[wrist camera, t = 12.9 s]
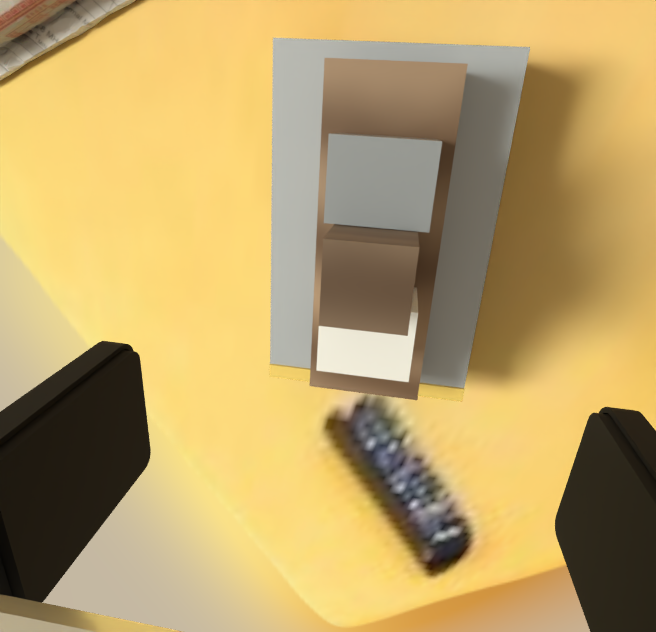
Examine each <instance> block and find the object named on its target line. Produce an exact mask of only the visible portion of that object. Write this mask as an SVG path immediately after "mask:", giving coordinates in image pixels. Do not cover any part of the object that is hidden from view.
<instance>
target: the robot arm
mask: <svg viewBox="0 0 656 632" xmlns="http://www.w3.org/2000/svg"><path fill="white" fill-rule="evenodd" d="M149 459H150V442H149V433H148V424H147V416H146V407H145V398H144V390H143V381H142V372H141V364H140V357H139V355H138V353H137V352H134V351H133V349H132V347H131V346H130V345H129V344H123V343H115V342H107V341H101V342H99V343H98V344H96V345H95V346H93V347H92V348H90V349H89V350H88V351H86V352H85V353H83V354H82V355H81V356H79V357H78V358H76V359H75V360H73V361H72V362H70V363H69V364H68V365H66V366H65V367H63V368H62V369H61V370H59V371H58V372H56V373H55V374H53V375H52V376H51V377H49V378H48V379H46V380H45V381H43V382H42V383H41V384H39V385H38V386H36V387H35V388H34V389H32V390H31V391H29V392H28V393H26V394H25V395H24V396H22V397H21V398H19V399H18V400H16V401H15V402H14V403H12V404H11V405H9V406H8V407H6V408H5V409H4V410H2V411H1V412H0V632H181V631H177V630H172V629H168V628H163V627H158V626H153V625H148V624H143V623H138V622H133V621H128V620H124V619H119V618H114V617H109V616H104V615H99V614H95V613H90V612H85V611H80V610H75V609H70V608H65V607H60V606H56V605H50V604H46V603H42V602H43V601H44V600H45V599H46V597H47V596H48V594H49V593H50V592H51V591H52V589H53V588H54V587H55V585H56V584H57V583H58V581H59V580H60V579H61V578H62V576H63V575H64V574H65V572H66V571H67V570H68V569H69V567H70V566H71V565H72V563H73V562H74V561H75V559H76V558H77V557H78V556H79V554H80V553H81V552H82V550H83V549H84V548H85V546H86V545H87V544H88V542H89V541H90V540H91V539H92V537H93V536H94V535H95V533H96V532H97V531H98V529H99V528H100V527H101V525H102V524H103V523H104V522H105V520H106V519H107V518H108V516H109V515H110V514H111V513H112V511H113V510H114V509H115V507H116V506H117V505H118V503H119V502H120V501H121V500H122V498H123V497H124V496H125V494H126V493H127V492H128V490H129V489H130V488H131V486H132V485H133V484H134V482H135V481H136V480H137V479H138V477H139V476H140V475H141V473H142V472H143V471H144V470H145V468H146V466H147V464H148V462H149ZM555 531H556V536H557V539H558V542H559V545H560V548H561V550H562V553H563V556H564V559H565V562H566V564H567V567H568V570H569V573H570V576H571V578H572V581H573V584H574V587H575V590H576V592H577V595H578V598H579V601H580V604H581V607H582V609H583V612H584V615H585V618H586V620H587V623H588V626H589V629H590V632H656V431H655V430H654V428H653V427H652V426H651V425H650V423H649V422H648V421H647V420H646V418H645V417H644V416H643V415H642V414H641V413H640V412H639V411H634V410H626V409H618V408H611V407H604V408H602V409H601V410H600V412H599V413H592V414H591V415H590V417H589V419H588V421H587V424H586V427H585V430H584V433H583V436H582V440H581V443H580V446H579V449H578V452H577V455H576V458H575V461H574V464H573V467H572V470H571V473H570V476H569V479H568V482H567V485H566V488H565V491H564V494H563V497H562V500H561V503H560V506H559V509H558V512H557V515H556V519H555Z"/></svg>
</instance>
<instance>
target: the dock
mask: <svg viewBox="0 0 656 632" xmlns="http://www.w3.org/2000/svg"><path fill="white" fill-rule="evenodd" d="M529 51H530V47H509V46H482V45H455V44H428V43H400V42H373V41H346V40H319V39H292V38H273V111H272V231H271V351H270V377H276V378H284V379H291V380H299V381H307V382H310V366H311V344H312V322H313V300H314V278H315V256H316V234H317V213H318V191H319V169H320V147H321V125H322V103H323V81H324V59H325V58H343V59H368V60H392V61H416V62H440V63H464V64H468V66H467V72H466V79H465V85H464V92H463V99H462V105H461V112H460V119H459V125H458V132H457V139H456V145H455V152H454V159H453V165H452V172H451V178H450V185H449V192H448V198H447V205H446V212H445V218H444V225H443V232H442V238H441V245H440V252H439V258H438V265H437V272H436V278H435V285H434V291H433V298H432V305H431V311H430V318H429V325H428V331H427V338H426V345H425V351H424V358H423V365H422V371H421V378H420V384H419V391H418V396H422V397H429V398H437V399H445V400H452V401H460V402H462V399H463V394H464V386H465V381H466V376H467V370H468V365H469V360H470V355H471V350H472V345H473V340H474V334H475V329H476V324H477V319H478V314H479V309H480V303H481V298H482V293H483V288H484V283H485V278H486V273H487V267H488V262H489V257H490V252H491V247H492V242H493V236H494V231H495V226H496V221H497V216H498V211H499V206H500V200H501V195H502V190H503V185H504V180H505V175H506V169H507V164H508V159H509V154H510V149H511V144H512V139H513V133H514V128H515V123H516V118H517V113H518V108H519V102H520V97H521V92H522V87H523V82H524V77H525V72H526V66H527V61H528V56H529Z"/></svg>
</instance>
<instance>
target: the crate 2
mask: <svg viewBox="0 0 656 632" xmlns="http://www.w3.org/2000/svg"><path fill="white" fill-rule="evenodd" d="M417 319H418V299H417V288H414V292H413V299H412V307H411V315H410V322H409V330H408V336H403V335H395V334H386V333H377V332H369V331H360V330H351V329H342V328H334V327H325V326H319V330H318V349H317V369H316V371H324V372H332V373H340V374H348V375H355V376H363V377H371V378H379V379H387V380H395V381H402V382H409V375H410V368H411V361H412V354H413V347H414V340H415V333H416V326H417Z"/></svg>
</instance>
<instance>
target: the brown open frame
mask: <svg viewBox="0 0 656 632" xmlns="http://www.w3.org/2000/svg"><path fill="white" fill-rule="evenodd" d="M467 66H468V64H464V63H440V62H416V61H392V60H368V59H343V58H325V59H324V81H323V103H322V125H321V147H320V169H319V191H318V213H317V234H316V256H315V278H314V300H313V322H312V344H311V366H310V386H314V387H321V388H329V389H337V390H344V391H352V392H359V393H367V394H375V395H382V396H390V397H397V398H405V399H413V400H417V398H418V391H419V384H420V378H421V371H422V365H423V358H424V351H425V345H426V338H427V331H428V325H429V318H430V311H431V305H432V298H433V291H434V285H435V278H436V272H437V265H438V258H439V252H440V245H441V238H442V232H443V225H444V218H445V212H446V205H447V198H448V192H449V185H450V178H451V172H452V165H453V159H454V152H455V145H456V139H457V132H458V125H459V119H460V112H461V105H462V99H463V92H464V85H465V79H466V72H467ZM331 133H350V134H365V135H380V136H395V137H410V138H425V139H438V140H440V141H442V147H441V154H440V161H439V168H438V175H437V182H436V189H435V196H434V203H433V210H432V217H431V223H430V230H429V233H427V232H417V231H406V230H395V229H384V228H373V227H362V226H351V225H340V224H329V223H324V209H325V191H326V173H327V155H328V137H329V134H331ZM414 288H417V299H418V319H417V326H416V333H415V340H414V347H413V354H412V361H411V368H410V375H409V382H402V381H395V380H387V379H379V378H371V377H363V376H355V375H348V374H340V373H332V372H324V371H316V369H317V349H318V330H319V326H325V327H334V328H342V329H351V330H360V331H369V332H377V333H386V334H395V335H403V336H408V330H409V322H410V315H411V307H412V299H413V292H414Z"/></svg>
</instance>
